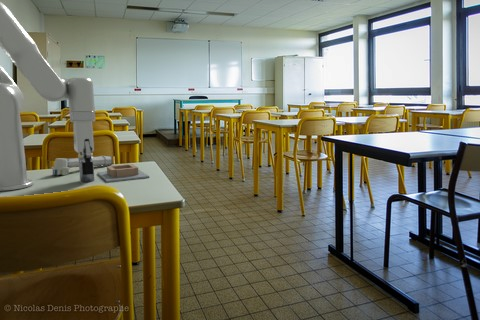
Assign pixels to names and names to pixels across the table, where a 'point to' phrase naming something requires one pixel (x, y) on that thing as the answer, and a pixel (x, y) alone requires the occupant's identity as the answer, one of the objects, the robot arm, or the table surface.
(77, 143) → the robot arm
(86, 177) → the grey and brass cylinder
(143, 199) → the table surface
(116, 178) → the socket block
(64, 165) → the white long slender part
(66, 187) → the table surface
